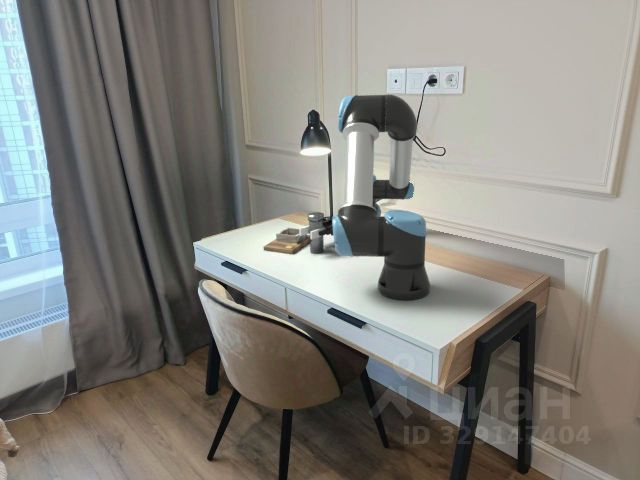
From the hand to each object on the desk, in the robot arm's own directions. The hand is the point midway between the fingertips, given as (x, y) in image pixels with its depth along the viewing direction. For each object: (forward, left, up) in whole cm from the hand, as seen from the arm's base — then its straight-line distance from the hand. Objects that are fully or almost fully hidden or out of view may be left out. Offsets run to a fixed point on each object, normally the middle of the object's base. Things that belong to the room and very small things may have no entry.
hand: (305, 233), depth 169 cm
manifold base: (+8, +11, -8) cm, 16 cm away
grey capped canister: (+5, -2, -8) cm, 10 cm away
